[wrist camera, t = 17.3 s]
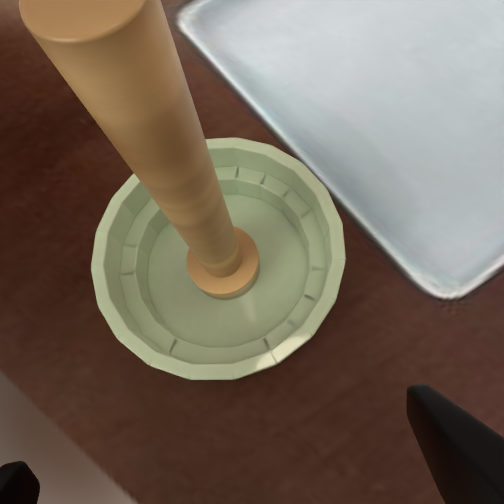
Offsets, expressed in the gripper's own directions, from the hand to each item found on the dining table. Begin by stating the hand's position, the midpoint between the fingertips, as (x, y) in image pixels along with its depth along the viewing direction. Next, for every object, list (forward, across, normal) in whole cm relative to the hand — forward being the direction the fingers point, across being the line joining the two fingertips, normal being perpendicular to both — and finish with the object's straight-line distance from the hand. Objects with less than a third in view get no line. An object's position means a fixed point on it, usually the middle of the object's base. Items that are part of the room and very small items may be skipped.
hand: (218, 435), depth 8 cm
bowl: (+12, 0, +2) cm, 12 cm away
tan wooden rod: (+11, 0, +1) cm, 11 cm away
